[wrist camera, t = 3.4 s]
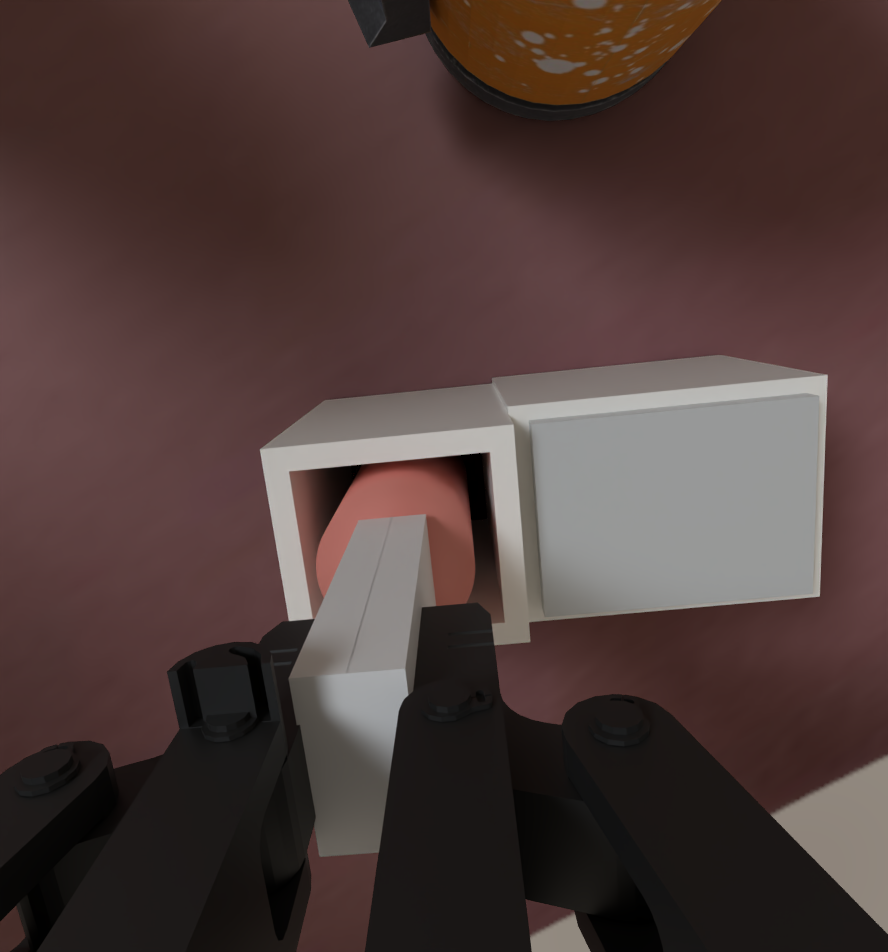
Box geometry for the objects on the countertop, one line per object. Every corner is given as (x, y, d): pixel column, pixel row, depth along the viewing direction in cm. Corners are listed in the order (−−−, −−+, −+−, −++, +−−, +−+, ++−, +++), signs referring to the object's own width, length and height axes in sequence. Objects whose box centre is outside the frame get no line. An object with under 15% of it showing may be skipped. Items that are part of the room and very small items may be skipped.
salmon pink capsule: (368, 535, 24) (328, 647, 16) (354, 433, 23) (304, 500, 15) (471, 525, 24) (481, 634, 16) (461, 423, 23) (467, 485, 15)
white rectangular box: (346, 552, 26) (297, 669, 17) (323, 394, 24) (258, 440, 16) (720, 518, 25) (851, 621, 17) (719, 354, 24) (862, 381, 16)
